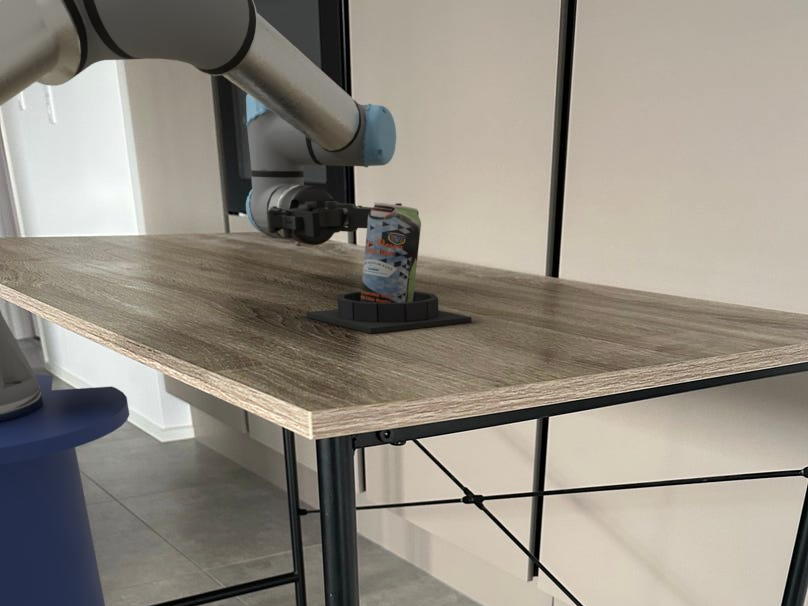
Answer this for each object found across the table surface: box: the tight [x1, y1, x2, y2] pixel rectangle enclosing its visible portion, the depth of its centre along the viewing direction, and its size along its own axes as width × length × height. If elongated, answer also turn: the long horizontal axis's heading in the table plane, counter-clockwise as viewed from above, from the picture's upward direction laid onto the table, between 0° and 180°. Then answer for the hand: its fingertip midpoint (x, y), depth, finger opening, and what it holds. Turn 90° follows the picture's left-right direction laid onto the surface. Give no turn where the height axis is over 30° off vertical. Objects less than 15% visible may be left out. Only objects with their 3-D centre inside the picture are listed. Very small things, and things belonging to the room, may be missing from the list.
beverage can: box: [360, 201, 422, 303], centre depth 108 cm, size 6×7×12 cm
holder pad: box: [306, 290, 472, 334], centre depth 110 cm, size 14×14×3 cm
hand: (367, 223), depth 117 cm, fingers open, 13 cm apart
